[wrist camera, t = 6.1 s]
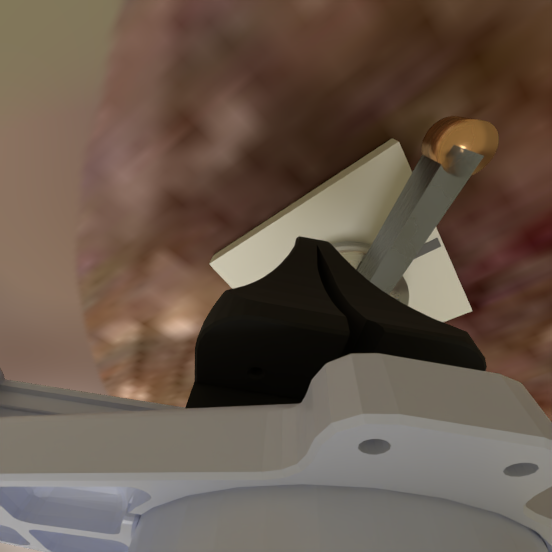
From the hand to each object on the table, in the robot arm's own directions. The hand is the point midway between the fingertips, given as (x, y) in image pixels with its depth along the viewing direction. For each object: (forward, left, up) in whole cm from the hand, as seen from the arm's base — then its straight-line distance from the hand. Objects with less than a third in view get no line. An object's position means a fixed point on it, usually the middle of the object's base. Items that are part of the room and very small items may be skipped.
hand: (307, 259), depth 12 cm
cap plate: (-9, +1, -10) cm, 13 cm away
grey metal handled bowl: (-6, -2, -9) cm, 11 cm away
